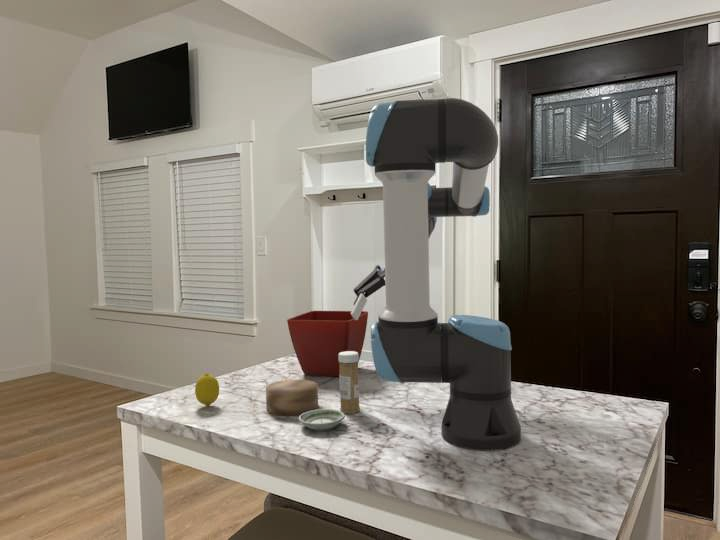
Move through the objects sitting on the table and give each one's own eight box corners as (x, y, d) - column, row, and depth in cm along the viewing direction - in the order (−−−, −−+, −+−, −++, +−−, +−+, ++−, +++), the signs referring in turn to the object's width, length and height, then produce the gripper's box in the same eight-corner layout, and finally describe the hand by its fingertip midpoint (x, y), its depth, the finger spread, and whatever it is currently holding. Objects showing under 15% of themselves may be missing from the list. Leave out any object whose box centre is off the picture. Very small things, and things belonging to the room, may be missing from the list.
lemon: (213, 410, 123) (211, 376, 123) (191, 409, 124) (189, 376, 124) (223, 403, 129) (222, 370, 128) (202, 402, 130) (201, 370, 129)
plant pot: (287, 377, 153) (285, 318, 152) (313, 362, 171) (312, 310, 170) (350, 381, 147) (348, 320, 146) (370, 365, 165) (369, 311, 164)
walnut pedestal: (328, 404, 126) (328, 383, 126) (294, 419, 116) (293, 396, 116) (290, 397, 133) (290, 377, 132) (255, 410, 123) (254, 388, 123)
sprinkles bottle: (363, 411, 120) (362, 353, 119) (345, 415, 118) (344, 355, 117) (353, 406, 124) (352, 349, 123) (336, 410, 122) (334, 352, 121)
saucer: (335, 416, 118) (335, 405, 118) (351, 430, 109) (351, 418, 109) (293, 423, 114) (293, 412, 114) (306, 438, 105) (306, 426, 105)
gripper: (453, 264, 136) (427, 332, 125) (373, 263, 151) (342, 324, 139) (444, 244, 132) (415, 313, 120) (362, 245, 146) (329, 306, 135)
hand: (376, 319), depth 130 cm, fingers open, 13 cm apart
